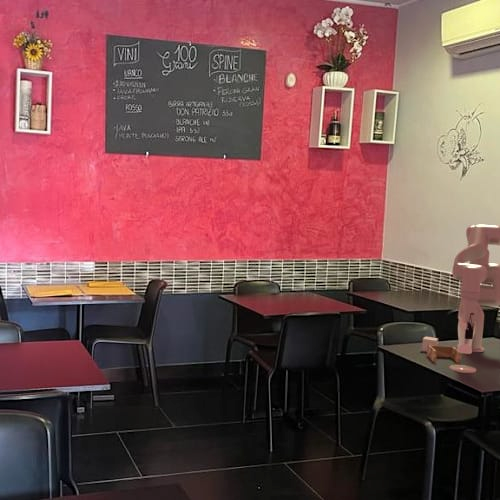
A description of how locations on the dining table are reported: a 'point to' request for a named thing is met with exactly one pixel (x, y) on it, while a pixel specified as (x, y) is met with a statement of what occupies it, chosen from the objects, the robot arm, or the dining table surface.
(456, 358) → the wooden u-shaped bracket
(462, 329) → the beer glass
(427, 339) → the pale pink cube
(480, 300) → the robot arm
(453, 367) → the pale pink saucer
